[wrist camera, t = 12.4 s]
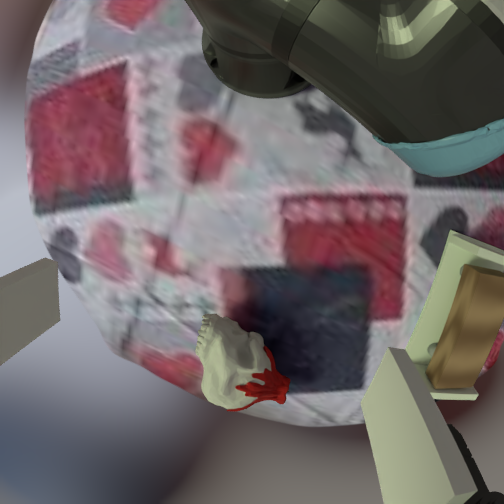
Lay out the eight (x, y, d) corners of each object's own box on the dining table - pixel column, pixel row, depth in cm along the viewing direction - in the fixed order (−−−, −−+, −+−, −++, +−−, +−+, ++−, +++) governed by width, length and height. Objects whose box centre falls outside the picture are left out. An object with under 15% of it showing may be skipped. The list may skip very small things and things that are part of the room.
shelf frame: (450, 229, 34) (481, 242, 26) (506, 251, 33) (538, 266, 26) (395, 368, 39) (411, 400, 32) (454, 374, 39) (473, 402, 31)
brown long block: (461, 372, 35) (472, 387, 31) (425, 372, 36) (435, 388, 32) (500, 270, 31) (516, 280, 27) (464, 263, 32) (480, 273, 28)
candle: (210, 296, 39) (309, 342, 41) (177, 358, 42) (269, 395, 44) (199, 334, 30) (322, 384, 32) (164, 400, 33) (272, 438, 35)
